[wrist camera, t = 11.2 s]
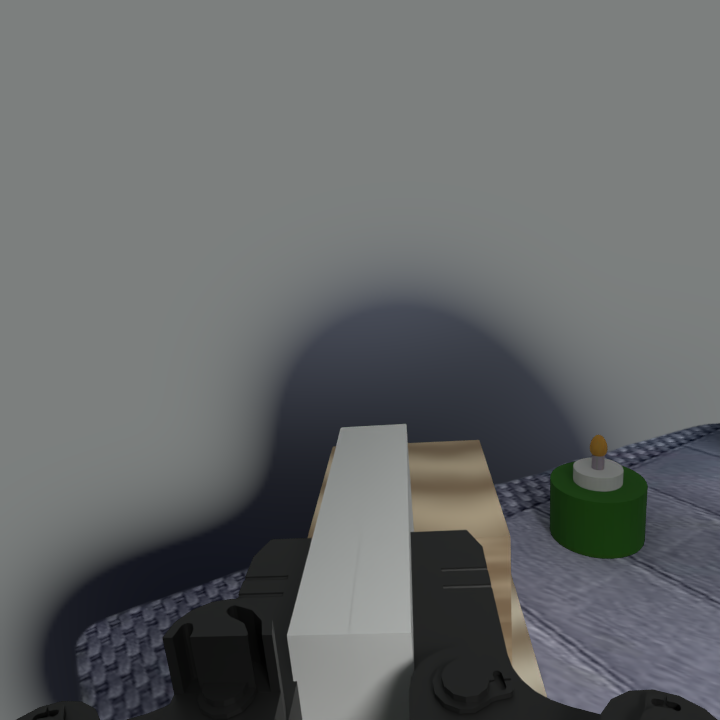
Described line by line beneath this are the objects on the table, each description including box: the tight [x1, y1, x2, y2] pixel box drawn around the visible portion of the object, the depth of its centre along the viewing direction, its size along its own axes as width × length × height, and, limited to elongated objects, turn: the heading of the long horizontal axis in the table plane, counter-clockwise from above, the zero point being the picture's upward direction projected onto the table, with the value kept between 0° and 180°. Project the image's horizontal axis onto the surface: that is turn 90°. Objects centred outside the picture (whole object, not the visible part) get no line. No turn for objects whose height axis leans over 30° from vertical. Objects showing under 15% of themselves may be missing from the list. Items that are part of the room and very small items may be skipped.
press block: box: [308, 440, 547, 697], centre depth 40 cm, size 21×16×12 cm
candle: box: [550, 435, 648, 559], centre depth 54 cm, size 8×8×10 cm
